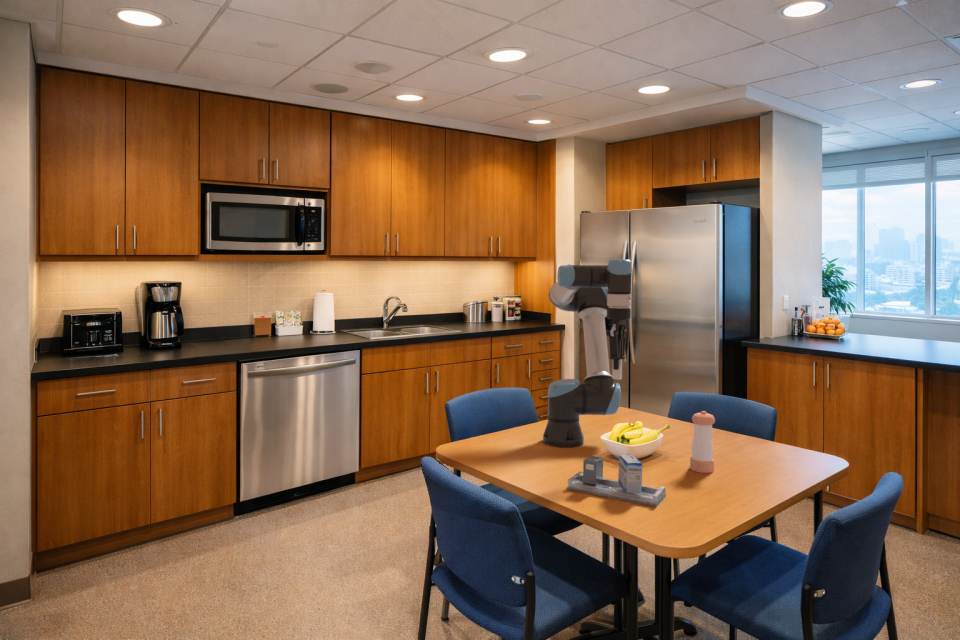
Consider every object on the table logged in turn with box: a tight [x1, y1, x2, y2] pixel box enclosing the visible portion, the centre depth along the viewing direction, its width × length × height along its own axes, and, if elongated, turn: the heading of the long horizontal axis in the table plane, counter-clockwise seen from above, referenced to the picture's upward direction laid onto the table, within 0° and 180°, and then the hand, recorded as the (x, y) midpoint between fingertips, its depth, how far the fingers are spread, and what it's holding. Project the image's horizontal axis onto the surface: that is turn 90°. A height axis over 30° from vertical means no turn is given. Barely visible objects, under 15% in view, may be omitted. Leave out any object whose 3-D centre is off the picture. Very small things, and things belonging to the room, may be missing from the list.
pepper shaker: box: [689, 410, 716, 474], centre depth 198 cm, size 7×7×19 cm
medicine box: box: [617, 454, 643, 493], centre depth 175 cm, size 8×4×9 cm, turn 5°
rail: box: [566, 455, 667, 508], centre depth 177 cm, size 26×10×9 cm, turn 59°
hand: (616, 378), depth 201 cm, fingers closed
